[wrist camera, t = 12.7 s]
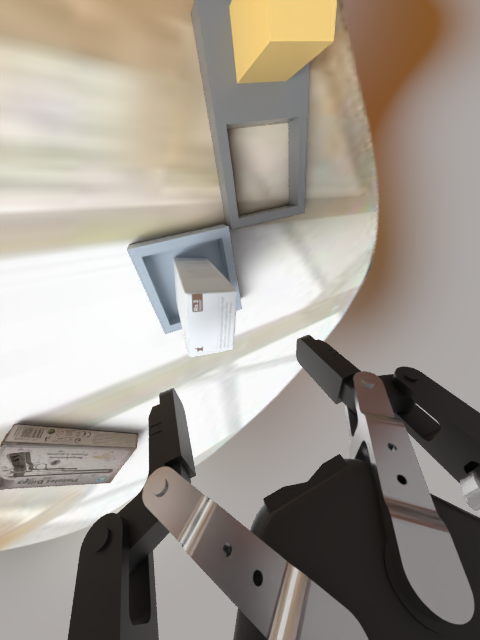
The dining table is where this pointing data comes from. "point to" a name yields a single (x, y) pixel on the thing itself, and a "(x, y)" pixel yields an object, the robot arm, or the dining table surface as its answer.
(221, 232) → the tray
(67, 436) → the box
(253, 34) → the block
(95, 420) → the dining table surface
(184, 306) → the skincare box
